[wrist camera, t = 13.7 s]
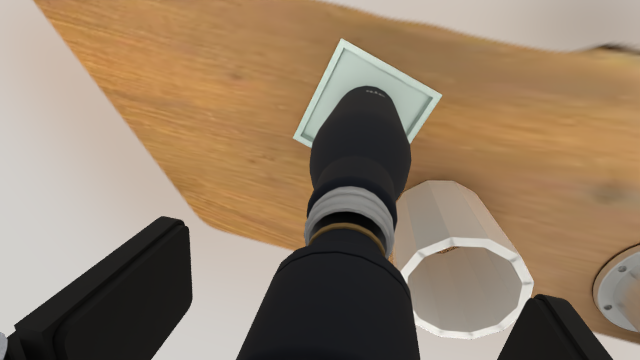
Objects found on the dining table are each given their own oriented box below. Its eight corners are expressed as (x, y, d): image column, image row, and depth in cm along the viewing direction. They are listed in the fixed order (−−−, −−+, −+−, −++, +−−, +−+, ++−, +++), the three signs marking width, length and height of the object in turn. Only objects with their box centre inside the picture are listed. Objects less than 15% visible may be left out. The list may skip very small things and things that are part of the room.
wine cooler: (504, 208, 35) (563, 278, 24) (447, 271, 40) (475, 355, 29) (423, 164, 35) (446, 215, 24) (374, 232, 39) (374, 302, 28)
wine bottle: (346, 152, 35) (240, 521, 7) (327, 97, 33) (92, 319, 6) (403, 136, 33) (539, 535, 6) (387, 76, 31) (479, 248, 4)
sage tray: (437, 92, 32) (442, 95, 30) (381, 177, 36) (381, 186, 34) (343, 39, 31) (341, 38, 29) (298, 132, 36) (292, 138, 34)
